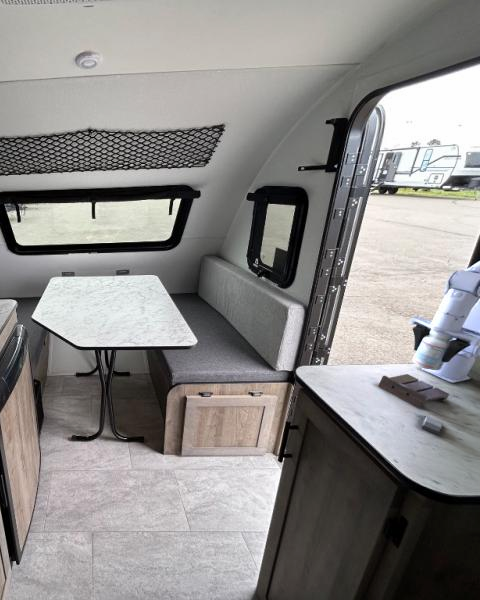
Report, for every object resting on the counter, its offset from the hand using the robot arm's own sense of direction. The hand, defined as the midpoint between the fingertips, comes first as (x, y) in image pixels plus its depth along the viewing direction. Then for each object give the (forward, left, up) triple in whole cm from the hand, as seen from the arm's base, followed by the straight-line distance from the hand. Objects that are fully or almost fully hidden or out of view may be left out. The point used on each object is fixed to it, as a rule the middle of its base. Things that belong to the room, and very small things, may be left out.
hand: (430, 355), depth 95 cm
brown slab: (+7, +3, -10) cm, 13 cm away
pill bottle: (0, 0, -4) cm, 4 cm away
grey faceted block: (+19, +13, -10) cm, 26 cm away
